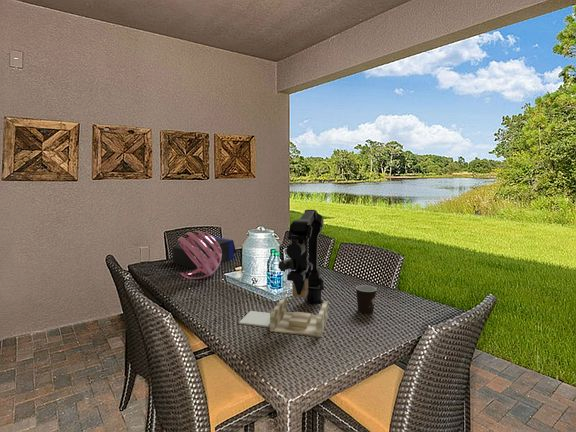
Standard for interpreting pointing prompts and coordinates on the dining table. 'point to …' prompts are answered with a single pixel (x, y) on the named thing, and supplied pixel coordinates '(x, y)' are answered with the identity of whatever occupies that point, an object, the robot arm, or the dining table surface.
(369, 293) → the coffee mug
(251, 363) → the dining table surface
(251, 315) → the grey mat
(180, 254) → the headphone box
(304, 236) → the robot arm
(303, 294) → the walnut block
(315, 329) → the slot box
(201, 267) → the spiral basket
